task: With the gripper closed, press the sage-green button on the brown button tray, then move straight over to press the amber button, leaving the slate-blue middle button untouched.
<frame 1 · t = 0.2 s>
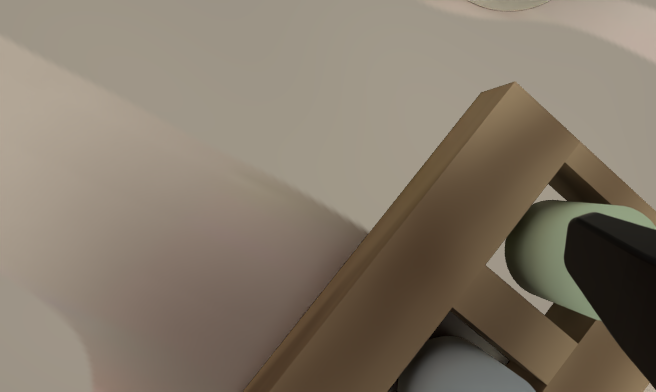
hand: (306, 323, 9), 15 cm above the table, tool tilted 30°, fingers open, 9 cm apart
brown button tray: (433, 372, 25), on the table
button sage: (579, 255, 22), point 3 cm above the table, slide at 0.0 cm
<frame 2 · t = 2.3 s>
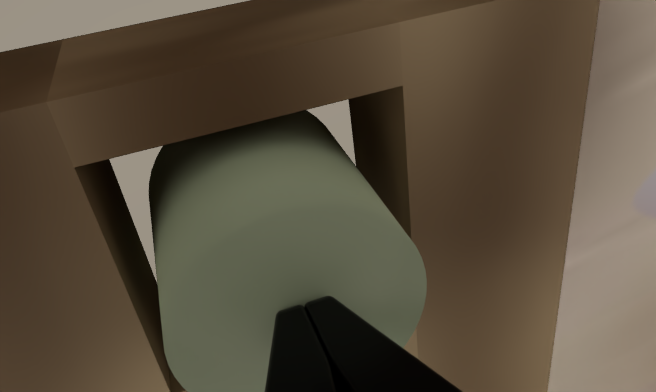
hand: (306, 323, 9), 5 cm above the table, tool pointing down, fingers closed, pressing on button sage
brown button tray: (294, 384, 16), on the table
button sage: (272, 245, 10), point 3 cm above the table, slide at 0.8 cm, touching gripper
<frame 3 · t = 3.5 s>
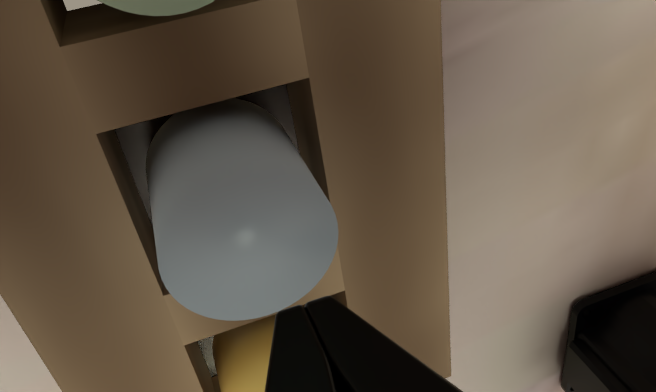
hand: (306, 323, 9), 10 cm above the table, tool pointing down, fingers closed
button amber: (285, 383, 18), point 3 cm above the table, slide at 0.0 cm
brown button tray: (213, 143, 17), on the table
button slate: (235, 203, 14), point 3 cm above the table, slide at 0.0 cm
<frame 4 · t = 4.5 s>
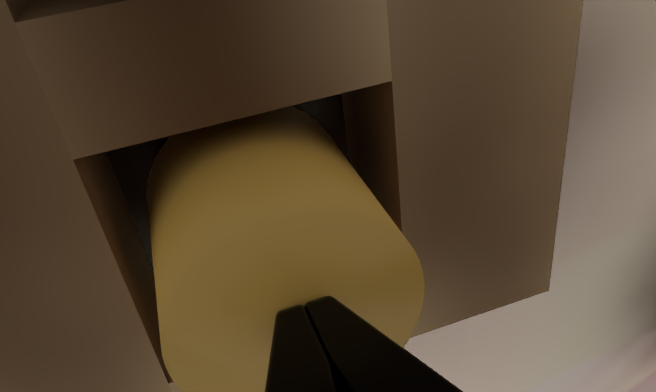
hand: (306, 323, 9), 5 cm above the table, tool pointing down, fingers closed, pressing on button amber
button amber: (270, 247, 10), point 3 cm above the table, slide at 0.5 cm, touching gripper
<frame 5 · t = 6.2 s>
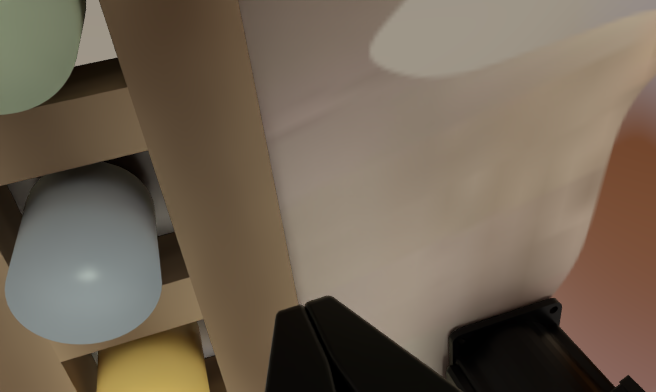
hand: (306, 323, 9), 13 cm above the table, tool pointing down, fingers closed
button amber: (152, 377, 22), point 3 cm above the table, slide at 1.0 cm
brown button tray: (93, 192, 20), on the table
button slate: (89, 248, 18), point 3 cm above the table, slide at 0.0 cm
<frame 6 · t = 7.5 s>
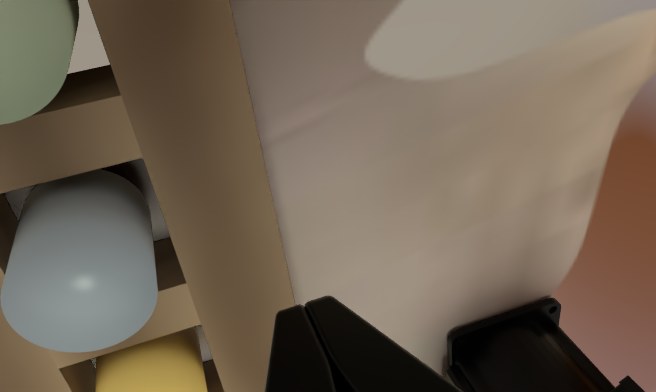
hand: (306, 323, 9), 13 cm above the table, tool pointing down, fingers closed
button amber: (151, 382, 22), point 3 cm above the table, slide at 1.0 cm
brown button tray: (89, 199, 20), on the table
button slate: (85, 256, 18), point 3 cm above the table, slide at 0.0 cm
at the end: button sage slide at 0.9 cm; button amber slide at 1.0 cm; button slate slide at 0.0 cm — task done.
